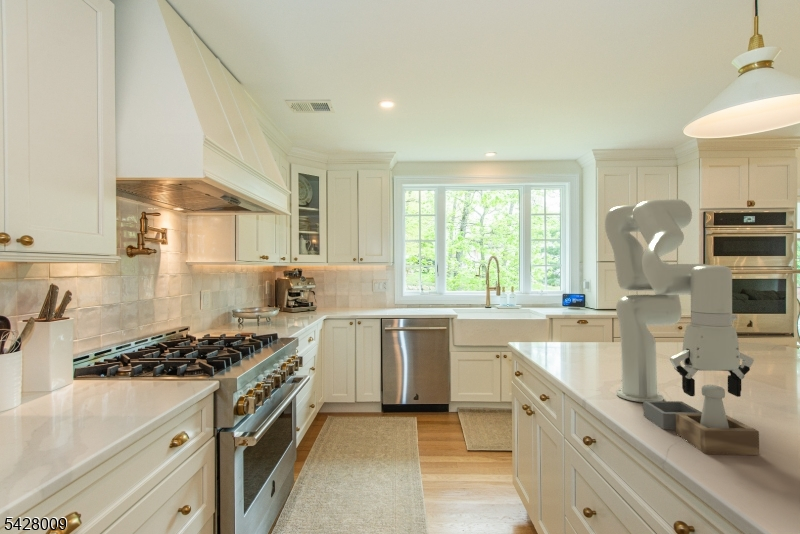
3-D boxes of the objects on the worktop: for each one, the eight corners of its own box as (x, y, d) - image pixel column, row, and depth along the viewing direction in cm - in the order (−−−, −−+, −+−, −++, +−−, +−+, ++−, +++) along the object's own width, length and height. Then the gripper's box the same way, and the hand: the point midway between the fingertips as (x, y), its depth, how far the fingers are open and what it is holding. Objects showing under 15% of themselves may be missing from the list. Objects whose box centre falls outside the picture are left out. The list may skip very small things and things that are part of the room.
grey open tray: (643, 415, 112) (643, 401, 112) (681, 416, 111) (681, 401, 111) (663, 429, 102) (663, 413, 102) (705, 430, 101) (705, 413, 101)
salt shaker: (717, 438, 96) (715, 382, 96) (738, 448, 91) (736, 389, 91) (692, 438, 96) (691, 382, 96) (712, 449, 90) (710, 389, 91)
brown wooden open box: (676, 434, 99) (675, 413, 99) (724, 434, 98) (723, 413, 98) (705, 454, 88) (704, 430, 88) (759, 455, 87) (758, 431, 87)
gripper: (739, 317, 97) (739, 389, 97) (661, 317, 98) (662, 389, 99) (765, 322, 89) (765, 400, 90) (680, 322, 91) (681, 400, 91)
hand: (711, 394), depth 94 cm, fingers open, 9 cm apart
